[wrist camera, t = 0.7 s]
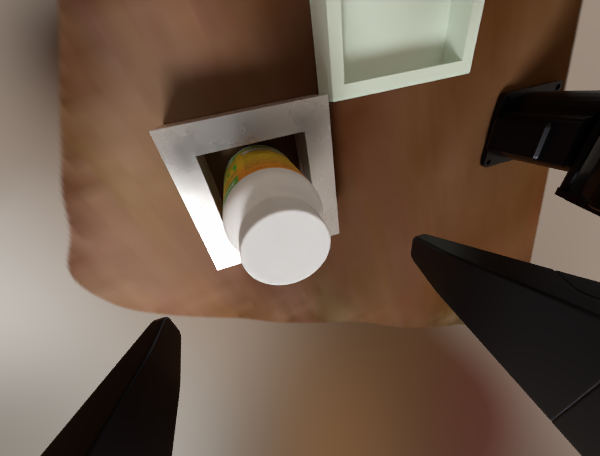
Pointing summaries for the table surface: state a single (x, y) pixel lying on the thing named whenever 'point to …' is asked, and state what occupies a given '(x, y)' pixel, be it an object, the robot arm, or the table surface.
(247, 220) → the supplement bottle
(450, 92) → the table surface
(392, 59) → the tray
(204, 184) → the sleeve holder
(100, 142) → the table surface
